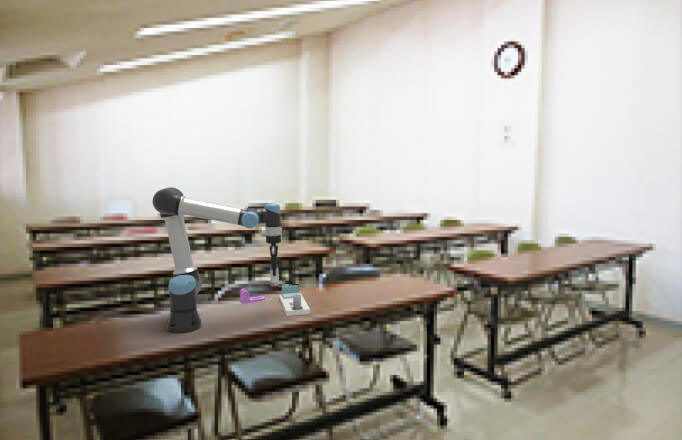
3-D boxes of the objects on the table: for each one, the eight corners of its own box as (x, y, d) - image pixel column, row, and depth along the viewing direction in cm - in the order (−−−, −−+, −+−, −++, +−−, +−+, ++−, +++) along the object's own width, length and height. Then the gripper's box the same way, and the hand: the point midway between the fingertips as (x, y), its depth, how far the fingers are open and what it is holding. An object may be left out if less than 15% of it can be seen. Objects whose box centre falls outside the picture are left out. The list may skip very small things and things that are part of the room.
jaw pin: (270, 286, 233) (269, 268, 232) (270, 284, 237) (270, 266, 236) (278, 286, 234) (277, 268, 233) (278, 284, 238) (278, 266, 237)
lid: (283, 298, 254) (283, 289, 253) (282, 294, 261) (281, 286, 260) (300, 297, 256) (300, 288, 256) (298, 293, 263) (298, 285, 262)
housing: (286, 316, 233) (286, 298, 232) (279, 299, 262) (278, 283, 261) (310, 314, 236) (309, 296, 235) (300, 297, 265) (300, 281, 264)
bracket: (243, 303, 254) (242, 291, 254) (240, 301, 259) (240, 289, 259) (266, 300, 260) (265, 288, 259) (263, 298, 265) (262, 286, 264)
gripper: (280, 237, 225) (281, 285, 227) (281, 232, 241) (283, 276, 244) (264, 237, 224) (266, 285, 227) (266, 232, 240) (268, 277, 243)
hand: (274, 280), depth 235 cm, fingers closed on jaw pin, 3 cm apart
